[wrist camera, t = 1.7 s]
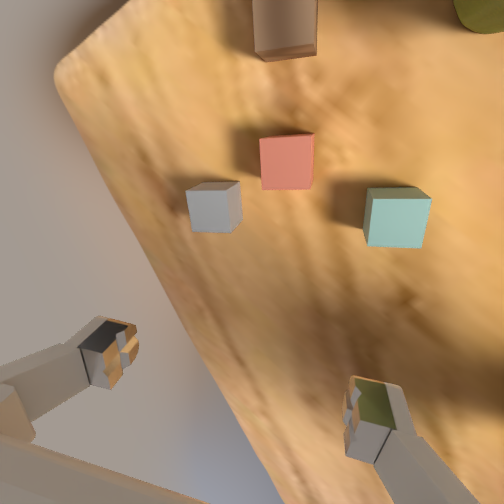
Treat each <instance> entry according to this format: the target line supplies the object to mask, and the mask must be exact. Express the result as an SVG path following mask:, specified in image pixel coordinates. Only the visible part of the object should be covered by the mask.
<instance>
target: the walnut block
mask: <svg viewBox="0 0 504 504" xmlns="http://www.w3.org/2000/svg"><path fill="white" fill-rule="evenodd" d="M252 7H253V26H254V44H255V53H257V54H258V55H259V56H260V57H261V58H262V59H263V60H264V61H266V62H273V61H280V60H287V59H295V58H302V57H309V56H316V54H317V15H318V0H252Z"/></svg>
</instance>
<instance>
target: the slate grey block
mask: <svg viewBox="0 0 504 504" xmlns="http://www.w3.org/2000/svg"><path fill="white" fill-rule="evenodd" d="M185 192H186V198H187V203H188V209H189V215H190V221H191V227H192V232H215V233H231V232H232V231H233V230H234V229H235V228H236V227H237V226H238V225H239V223H240V222H241V221H242V220H243V214H242V202H241V191H240V182H203V183H200V184H198V185H196V186H194V187H192V188H190V189H188V190H186V191H185Z"/></svg>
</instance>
